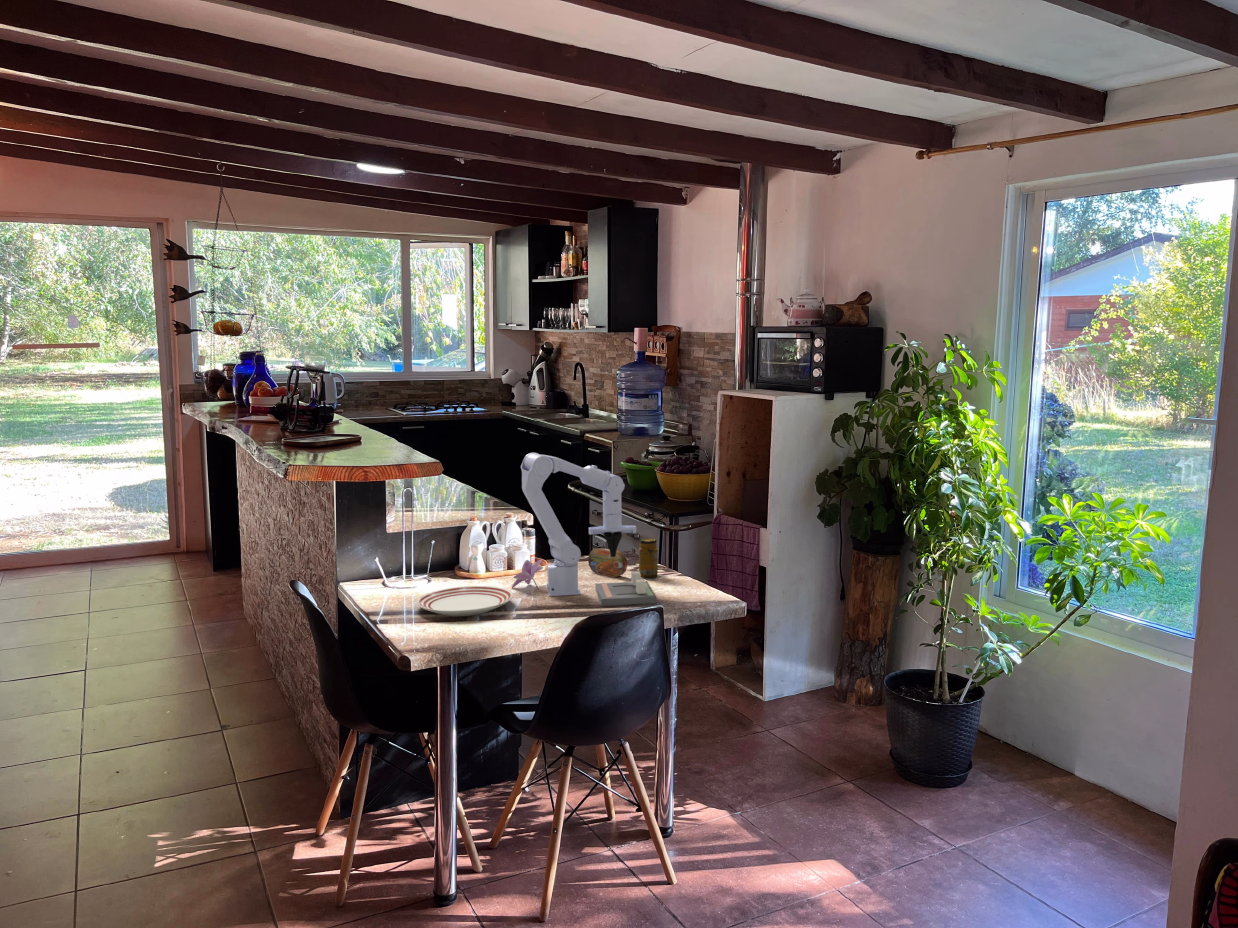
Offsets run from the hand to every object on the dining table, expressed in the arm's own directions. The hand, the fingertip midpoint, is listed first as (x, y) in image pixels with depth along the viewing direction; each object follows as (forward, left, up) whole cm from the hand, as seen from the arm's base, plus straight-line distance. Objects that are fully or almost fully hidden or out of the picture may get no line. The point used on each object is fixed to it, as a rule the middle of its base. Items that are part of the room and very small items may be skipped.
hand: (612, 556), depth 287 cm
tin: (0, +14, -10) cm, 17 cm away
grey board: (+2, -13, -9) cm, 16 cm away
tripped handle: (+6, -17, -7) cm, 19 cm away
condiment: (+13, +9, -10) cm, 19 cm away
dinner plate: (-45, -15, -10) cm, 48 cm away
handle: (+6, -8, -7) cm, 12 cm away
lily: (-26, +2, -10) cm, 28 cm away
